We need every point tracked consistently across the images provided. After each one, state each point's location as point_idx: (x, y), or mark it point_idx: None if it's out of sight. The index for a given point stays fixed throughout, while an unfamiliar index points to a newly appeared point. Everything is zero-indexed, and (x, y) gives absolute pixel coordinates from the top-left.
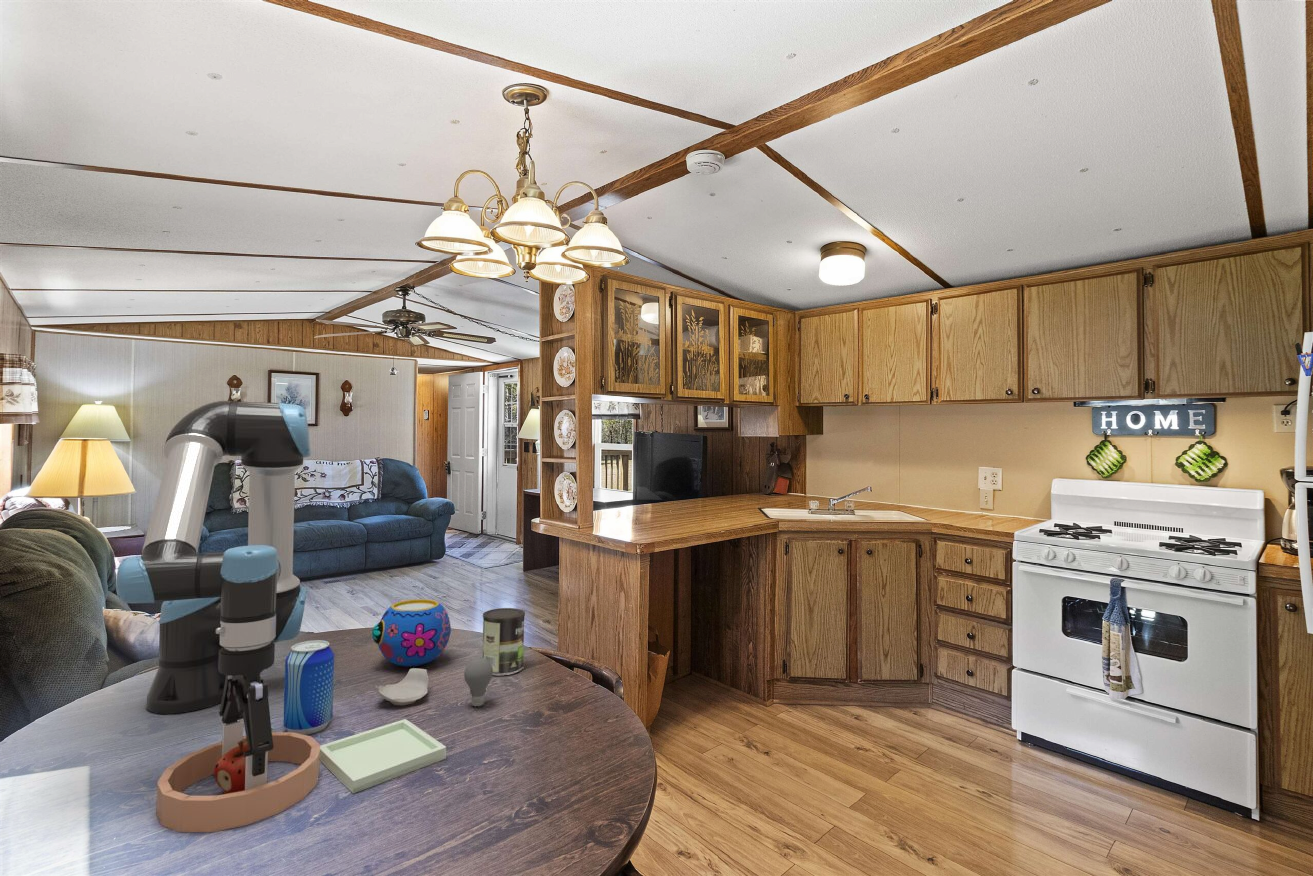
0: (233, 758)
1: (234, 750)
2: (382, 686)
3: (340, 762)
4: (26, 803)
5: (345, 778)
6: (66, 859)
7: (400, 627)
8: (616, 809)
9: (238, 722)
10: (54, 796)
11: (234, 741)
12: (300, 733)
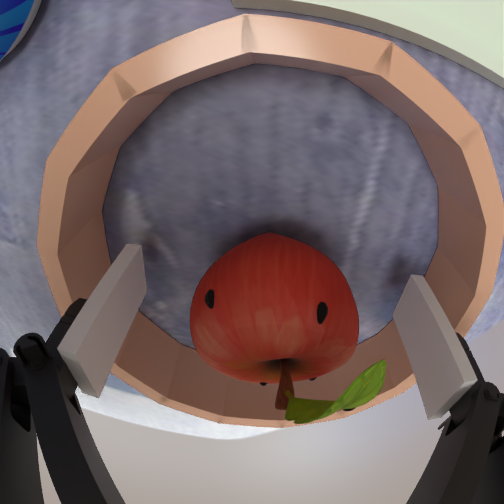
0: (293, 376)
1: (241, 369)
2: None
3: (447, 30)
4: (85, 404)
5: (500, 80)
6: (267, 427)
7: None
8: None
9: (77, 366)
10: (79, 392)
11: (116, 318)
12: (26, 28)
